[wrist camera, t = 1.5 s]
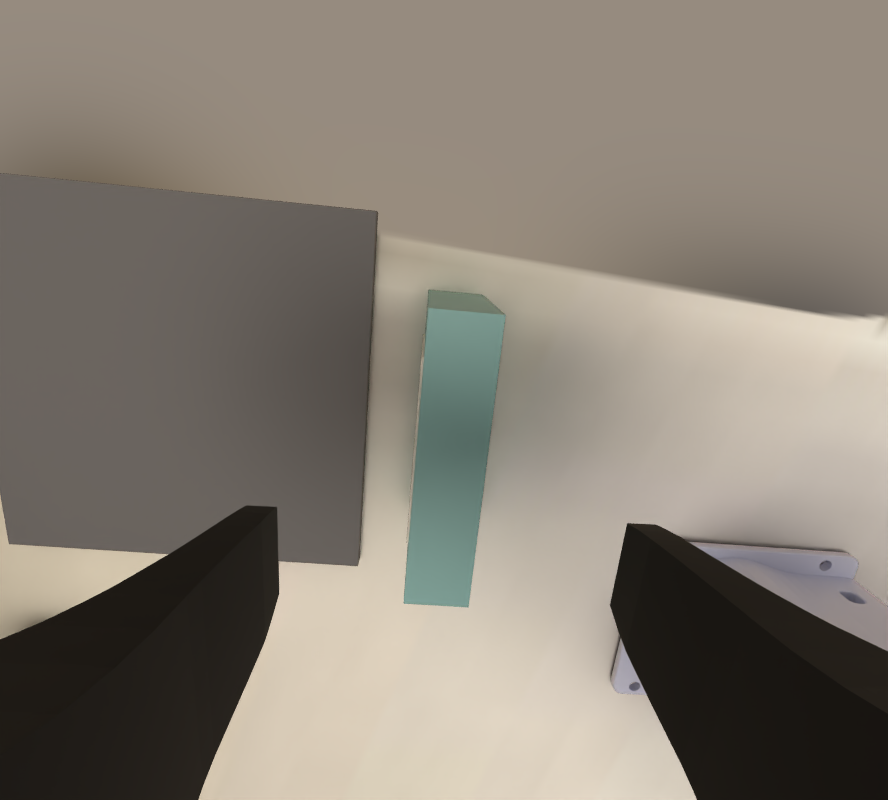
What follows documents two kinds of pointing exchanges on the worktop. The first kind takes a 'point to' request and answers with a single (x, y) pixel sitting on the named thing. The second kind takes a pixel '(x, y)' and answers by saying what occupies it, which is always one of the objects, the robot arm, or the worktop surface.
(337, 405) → the mat
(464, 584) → the card box
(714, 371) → the worktop surface
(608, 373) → the worktop surface
